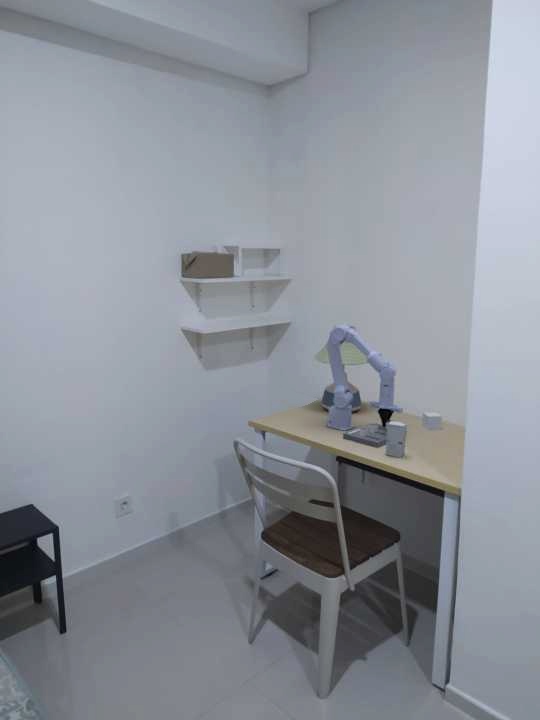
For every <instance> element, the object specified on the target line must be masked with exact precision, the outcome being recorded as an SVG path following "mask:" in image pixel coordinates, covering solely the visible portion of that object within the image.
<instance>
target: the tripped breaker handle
mask: <svg viewBox="0 0 540 720" xmlns="http://www.w3.org/2000/svg"><path fill="white" fill-rule="evenodd" d="M391 421H394V420H392V419H390V420H389V421H386V429H387V430H388V424H389V423H390V422H391Z"/></svg>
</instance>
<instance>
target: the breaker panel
mask: <svg viewBox="0 0 540 720" xmlns="http://www.w3.org/2000/svg"><path fill="white" fill-rule="evenodd" d="M407 431H408V430H406V434H407ZM387 432H388V430H387V429H386V427H382V423H377V422H371V423H368V424H366V425H363V426H360V427H357V428H355V429H352V430H350V431H349V430H348V431H347V432H346V431H345V432H343V434H342V438H343V439H344V440H348V441H352V442H354V443H359V444H363V445H366V446H370V447H373V448H377V449H378V448H380V447H383V446H385V445H386V444H387Z"/></svg>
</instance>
